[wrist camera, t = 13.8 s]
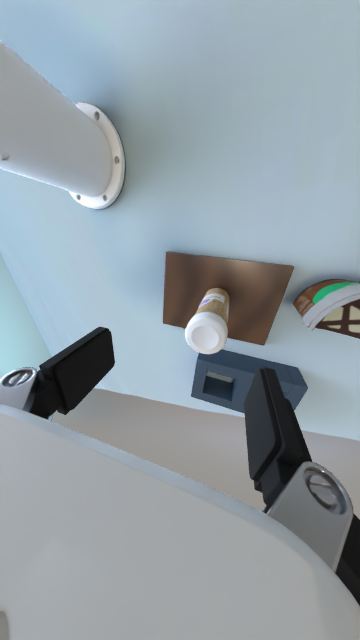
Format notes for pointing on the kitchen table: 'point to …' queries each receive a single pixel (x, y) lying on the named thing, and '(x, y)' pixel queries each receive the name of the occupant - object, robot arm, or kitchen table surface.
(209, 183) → the kitchen table surface
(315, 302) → the food container
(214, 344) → the sprinkles bottle
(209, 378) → the dark grey cinder block
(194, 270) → the board
